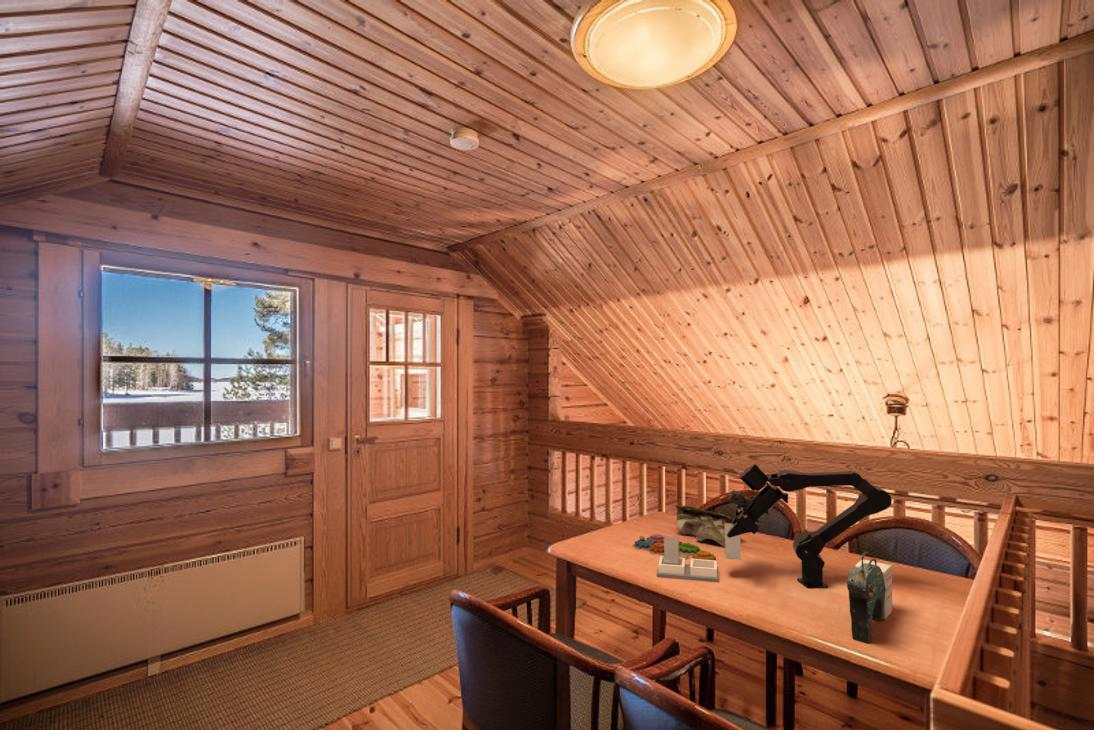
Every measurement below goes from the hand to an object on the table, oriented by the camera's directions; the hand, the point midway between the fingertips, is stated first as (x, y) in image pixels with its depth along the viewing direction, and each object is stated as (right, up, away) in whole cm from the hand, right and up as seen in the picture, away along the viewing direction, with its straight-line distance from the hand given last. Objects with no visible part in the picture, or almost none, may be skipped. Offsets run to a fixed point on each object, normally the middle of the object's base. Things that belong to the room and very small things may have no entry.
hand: (727, 534), depth 172 cm
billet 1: (-17, -13, +5) cm, 22 cm away
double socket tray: (-12, -14, +3) cm, 19 cm away
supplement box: (+31, -13, -27) cm, 43 cm away
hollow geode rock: (+5, -14, +39) cm, 42 cm away
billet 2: (+2, -7, 0) cm, 7 cm away
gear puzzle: (-11, -15, +25) cm, 31 cm away
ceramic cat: (+23, -13, -36) cm, 45 cm away
